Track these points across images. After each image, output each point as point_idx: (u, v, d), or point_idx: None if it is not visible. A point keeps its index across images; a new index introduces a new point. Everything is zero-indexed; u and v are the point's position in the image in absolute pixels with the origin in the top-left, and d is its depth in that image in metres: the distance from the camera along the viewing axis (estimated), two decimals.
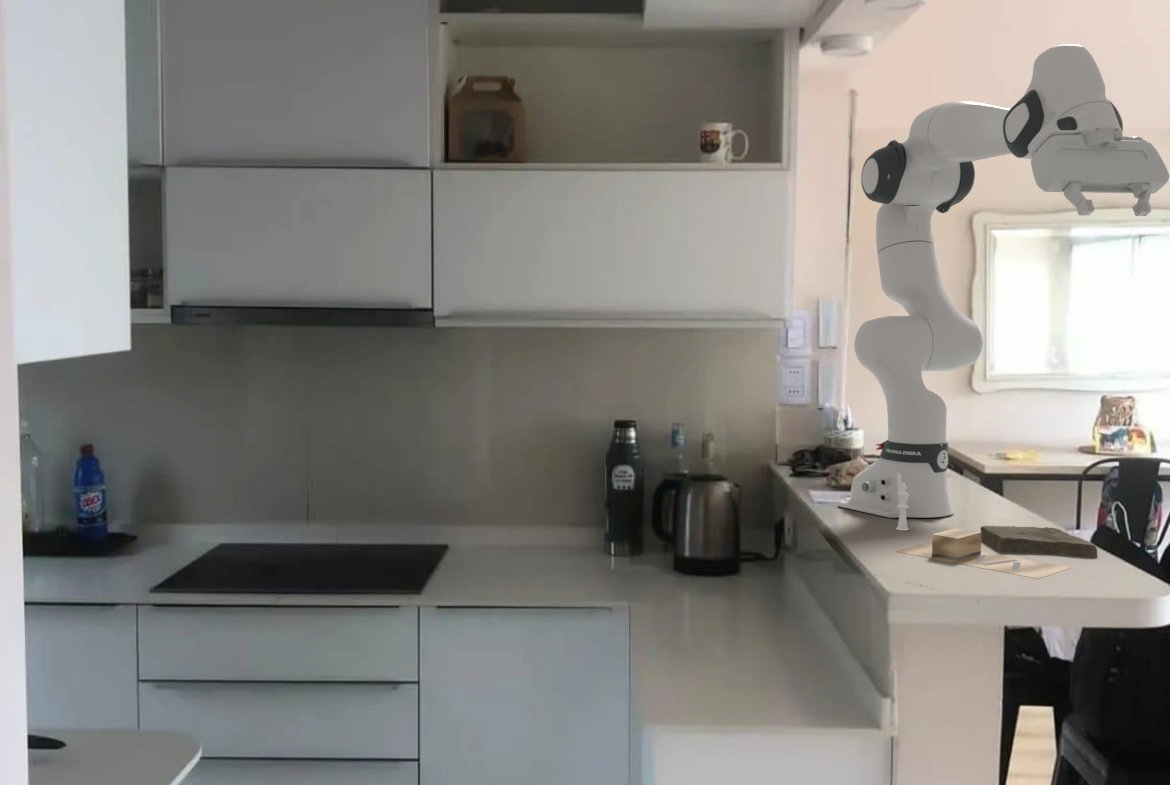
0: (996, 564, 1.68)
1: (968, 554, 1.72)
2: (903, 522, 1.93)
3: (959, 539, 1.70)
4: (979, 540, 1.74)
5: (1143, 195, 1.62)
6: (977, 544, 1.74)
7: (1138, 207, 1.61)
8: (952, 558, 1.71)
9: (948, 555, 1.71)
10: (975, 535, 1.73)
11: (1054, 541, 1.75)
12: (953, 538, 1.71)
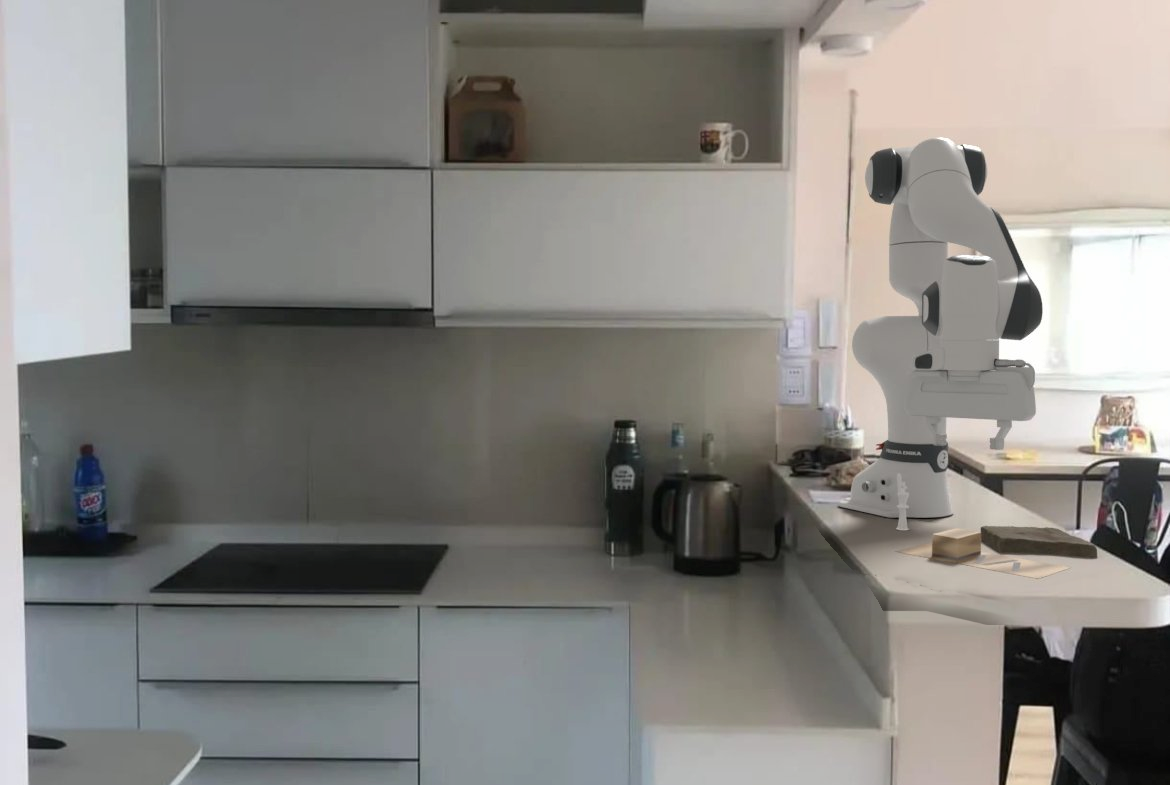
0: (996, 564, 1.68)
1: (968, 554, 1.72)
2: (903, 522, 1.93)
3: (959, 539, 1.70)
4: (979, 540, 1.74)
5: None
6: (977, 544, 1.74)
7: None
8: (952, 558, 1.71)
9: (948, 555, 1.71)
10: (975, 535, 1.73)
11: (1054, 541, 1.75)
12: (953, 538, 1.71)
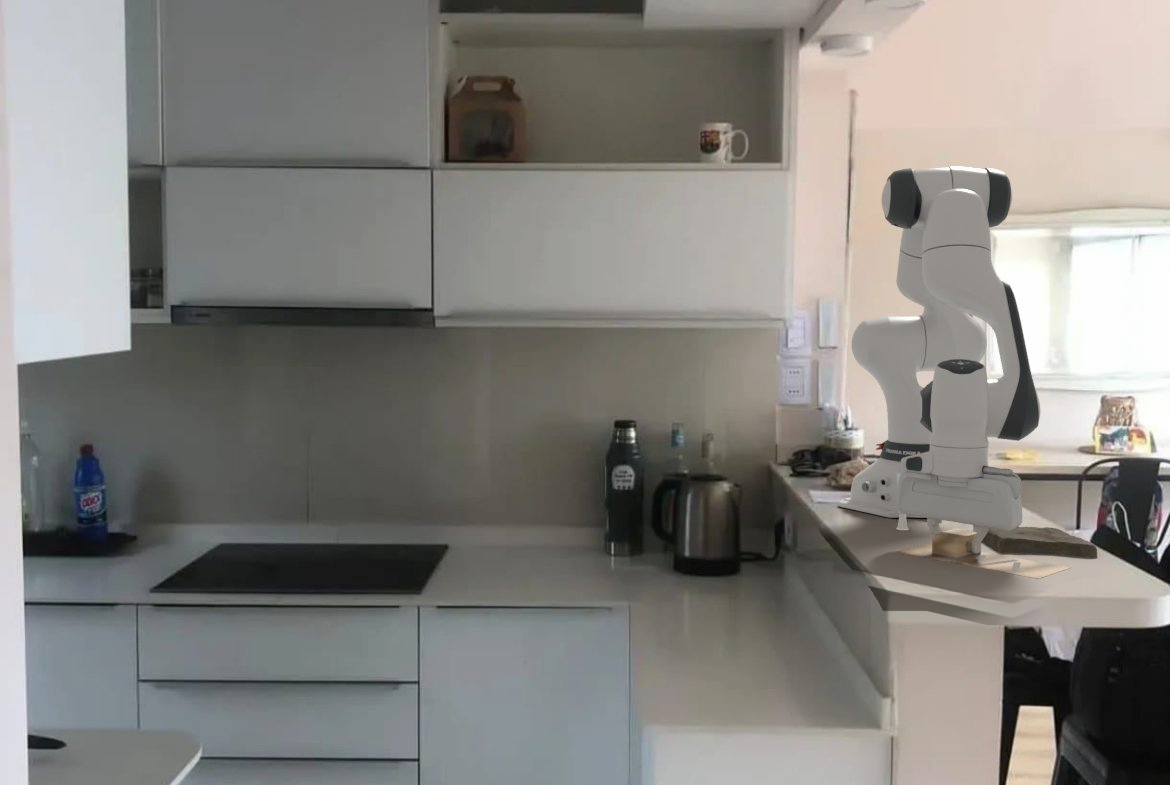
0: (996, 564, 1.68)
1: (968, 554, 1.72)
2: (903, 522, 1.93)
3: (959, 539, 1.70)
4: None
5: None
6: None
7: None
8: (952, 558, 1.71)
9: (948, 555, 1.71)
10: None
11: (1054, 541, 1.75)
12: (953, 538, 1.71)
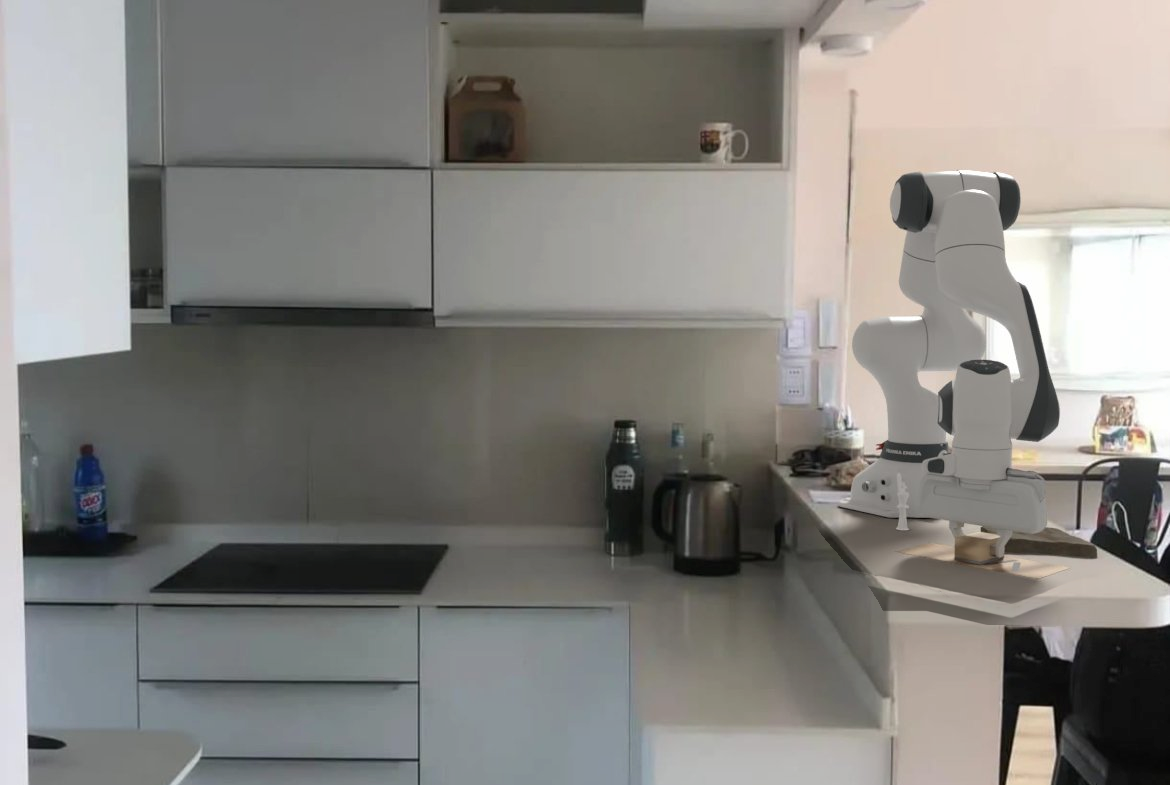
0: (996, 564, 1.68)
1: (991, 558, 1.69)
2: (903, 522, 1.93)
3: (982, 543, 1.67)
4: None
5: None
6: None
7: None
8: (975, 562, 1.68)
9: (971, 559, 1.68)
10: None
11: (1054, 541, 1.75)
12: (976, 542, 1.67)
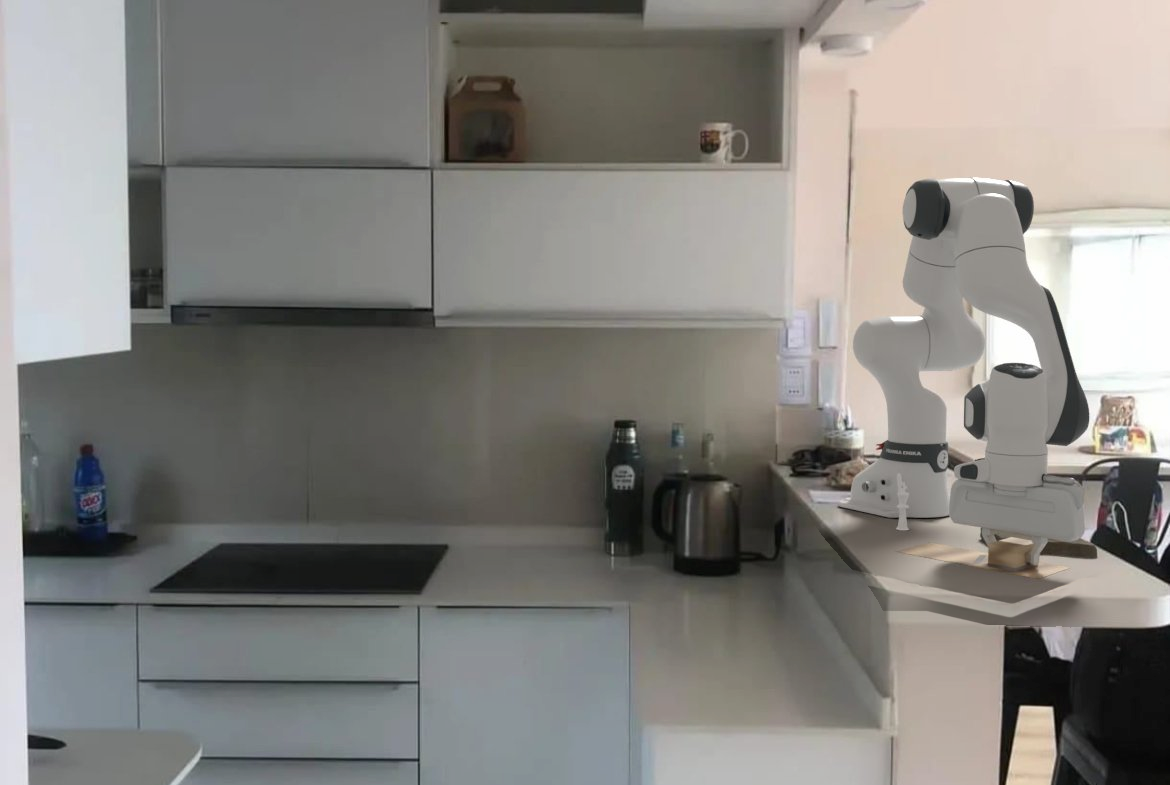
0: None
1: (1026, 564, 1.65)
2: (903, 522, 1.93)
3: (1017, 549, 1.63)
4: None
5: None
6: None
7: None
8: (1010, 569, 1.64)
9: (1005, 565, 1.64)
10: (1032, 545, 1.66)
11: (1054, 541, 1.75)
12: (1011, 548, 1.64)
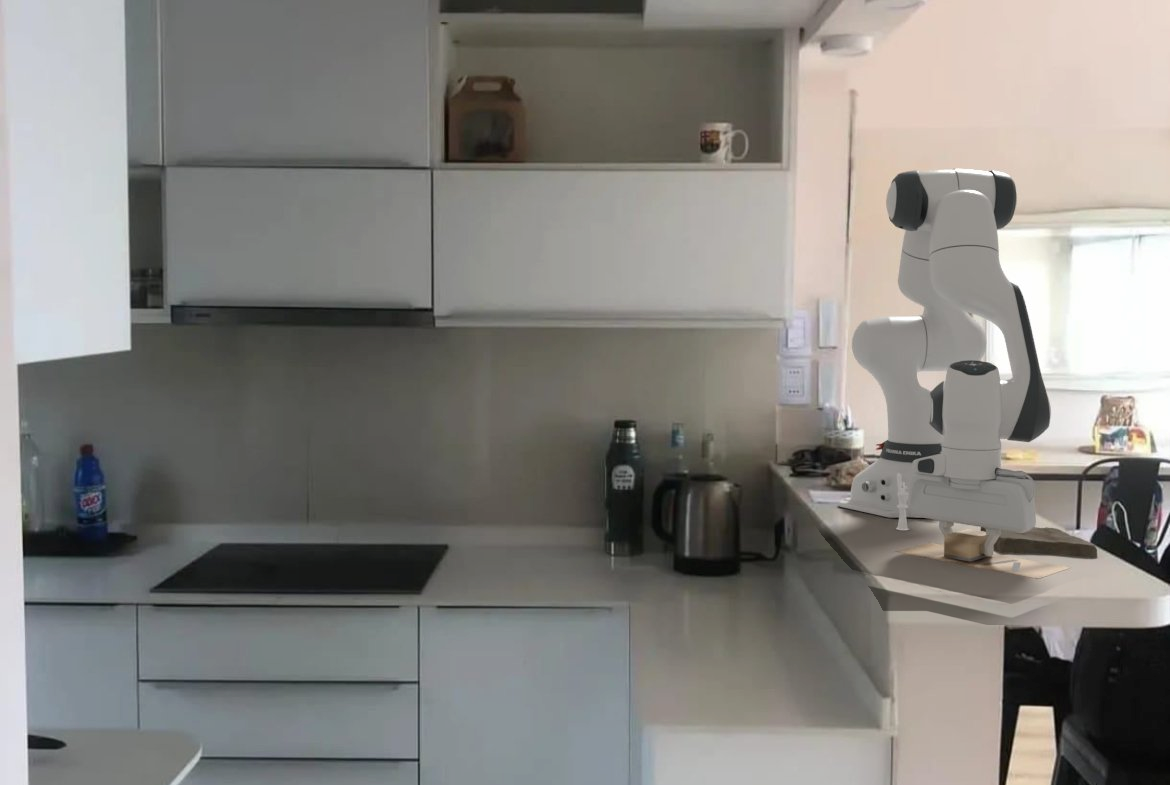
0: (996, 564, 1.68)
1: (980, 555, 1.71)
2: (903, 522, 1.93)
3: (971, 540, 1.69)
4: None
5: None
6: None
7: None
8: (964, 559, 1.69)
9: (960, 556, 1.70)
10: (987, 536, 1.72)
11: (1054, 541, 1.75)
12: (965, 539, 1.69)
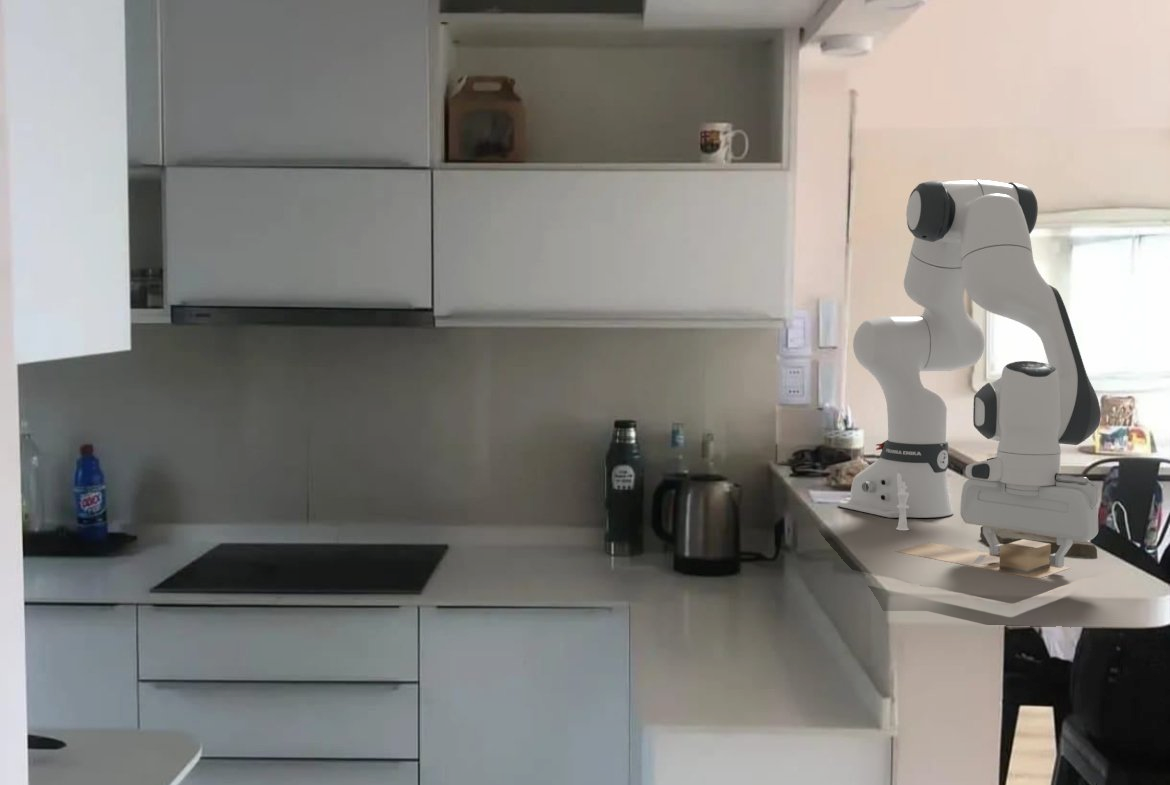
0: (996, 564, 1.68)
1: (1038, 567, 1.64)
2: (903, 522, 1.93)
3: (1029, 551, 1.62)
4: (1049, 552, 1.66)
5: None
6: (1047, 556, 1.65)
7: None
8: (1022, 571, 1.62)
9: (1017, 568, 1.63)
10: (1044, 547, 1.65)
11: (1054, 541, 1.75)
12: (1023, 550, 1.62)
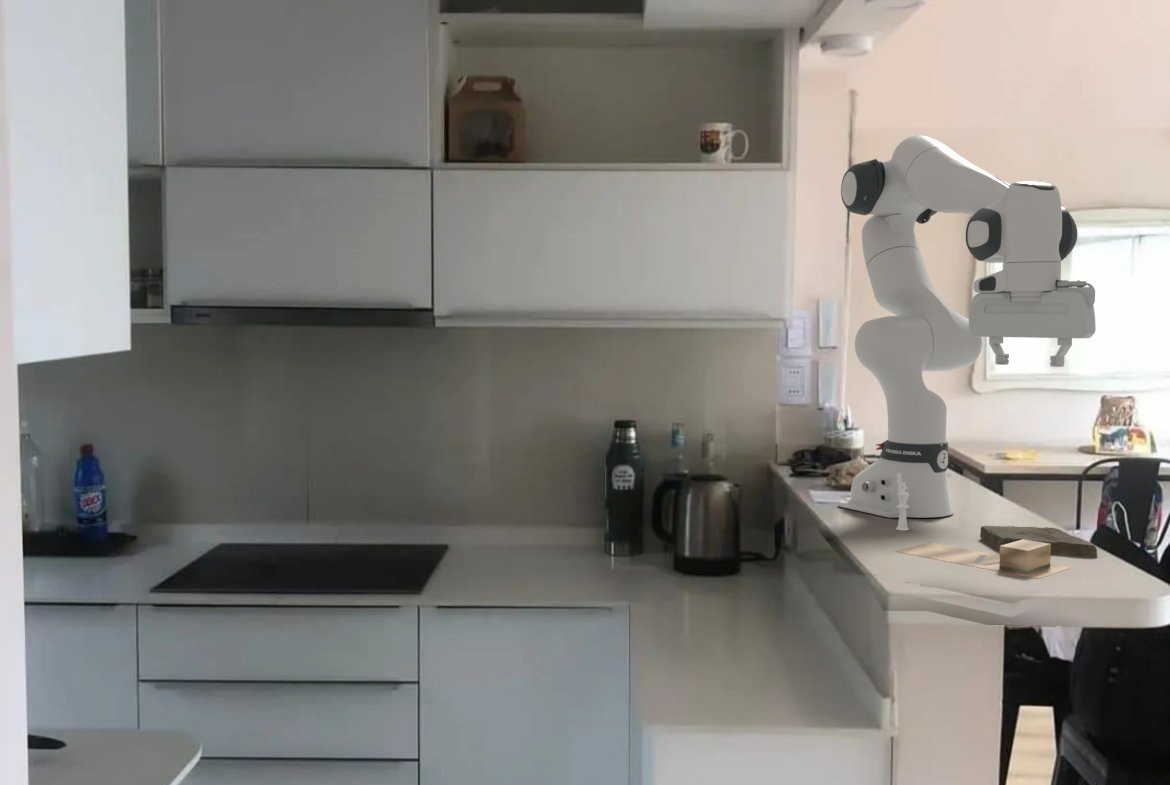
0: (996, 564, 1.68)
1: (1038, 567, 1.64)
2: (903, 522, 1.93)
3: (1029, 551, 1.62)
4: (1049, 552, 1.66)
5: None
6: (1047, 556, 1.65)
7: None
8: (1022, 571, 1.62)
9: (1017, 568, 1.63)
10: (1044, 547, 1.65)
11: (1054, 541, 1.75)
12: (1023, 550, 1.62)
